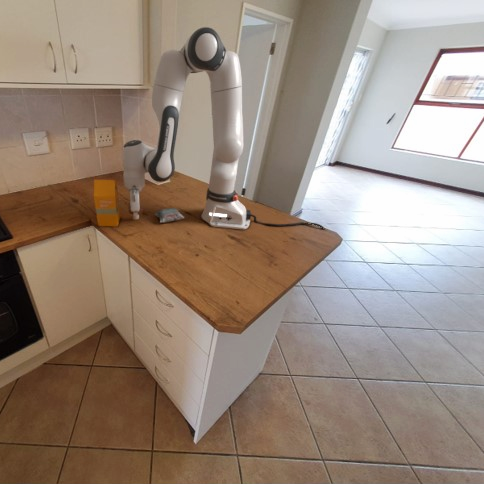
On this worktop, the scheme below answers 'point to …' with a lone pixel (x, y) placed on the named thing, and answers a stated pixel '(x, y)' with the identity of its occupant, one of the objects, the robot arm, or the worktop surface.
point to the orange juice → (106, 202)
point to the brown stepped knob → (138, 213)
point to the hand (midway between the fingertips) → (135, 211)
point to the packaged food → (169, 215)
